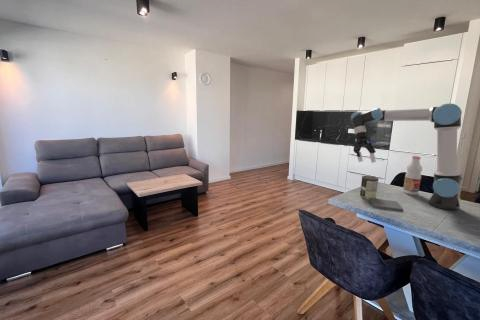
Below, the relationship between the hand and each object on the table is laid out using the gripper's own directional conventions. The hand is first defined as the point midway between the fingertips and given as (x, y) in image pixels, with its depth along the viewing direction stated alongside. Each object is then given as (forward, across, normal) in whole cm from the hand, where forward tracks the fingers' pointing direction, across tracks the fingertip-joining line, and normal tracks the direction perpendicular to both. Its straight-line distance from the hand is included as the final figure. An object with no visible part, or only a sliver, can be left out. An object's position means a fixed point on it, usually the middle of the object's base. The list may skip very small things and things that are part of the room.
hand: (367, 161), depth 160 cm
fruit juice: (+22, -44, -2) cm, 49 cm away
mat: (+30, -2, +4) cm, 30 cm away
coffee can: (+23, -6, -10) cm, 26 cm away
